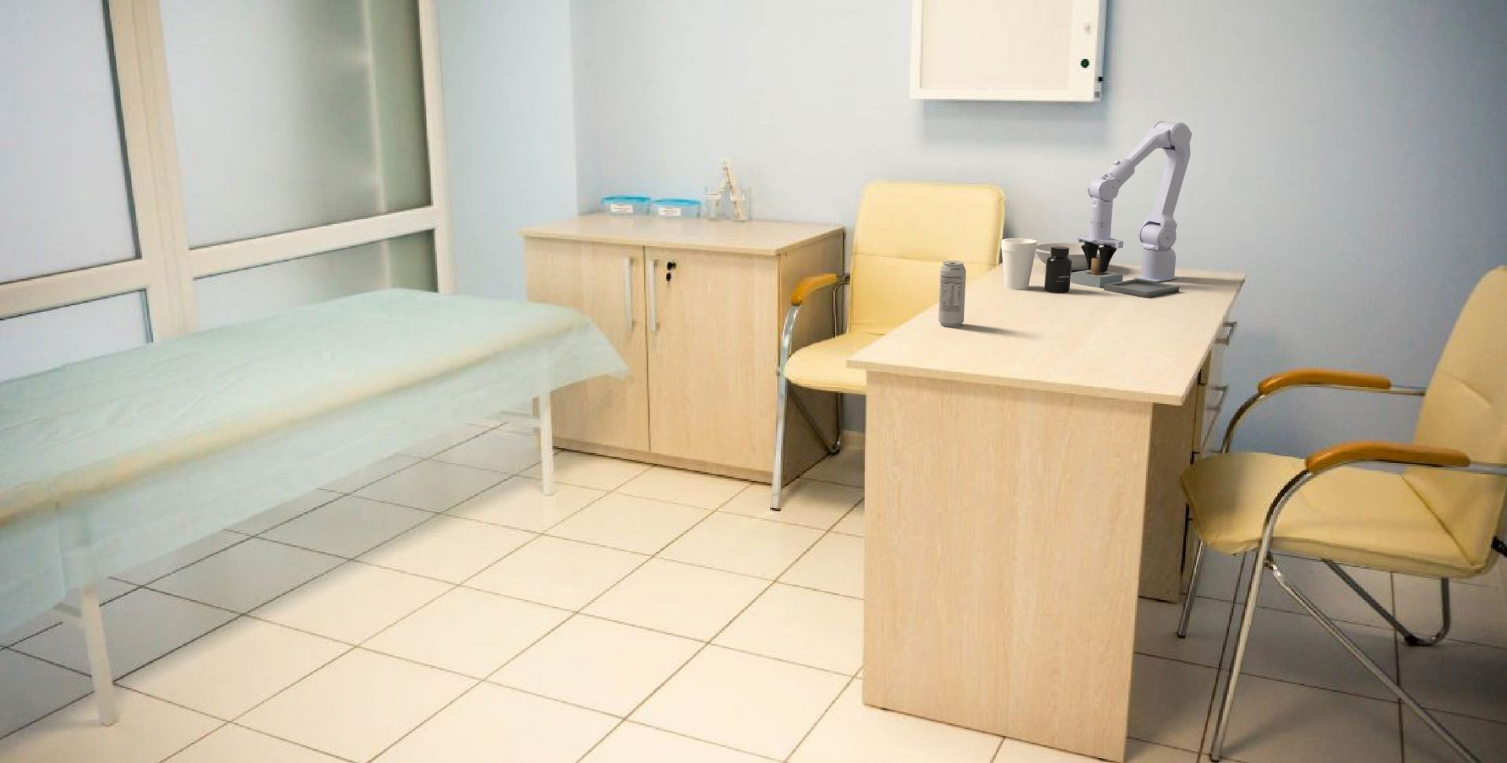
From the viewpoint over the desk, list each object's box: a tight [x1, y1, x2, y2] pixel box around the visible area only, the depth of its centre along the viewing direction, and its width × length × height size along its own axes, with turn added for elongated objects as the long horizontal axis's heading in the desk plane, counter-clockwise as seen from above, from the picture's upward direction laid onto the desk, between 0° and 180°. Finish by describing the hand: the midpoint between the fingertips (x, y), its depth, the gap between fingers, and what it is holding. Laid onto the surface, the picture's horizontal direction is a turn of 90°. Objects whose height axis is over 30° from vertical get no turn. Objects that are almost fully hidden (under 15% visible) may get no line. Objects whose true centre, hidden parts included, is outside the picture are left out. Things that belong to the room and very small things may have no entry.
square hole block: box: [1070, 269, 1124, 289], centre depth 350 cm, size 10×10×3 cm
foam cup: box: [1000, 237, 1038, 291], centre depth 342 cm, size 10×9×13 cm
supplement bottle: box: [1043, 246, 1072, 294], centre depth 337 cm, size 7×7×12 cm
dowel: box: [1091, 257, 1104, 275], centre depth 349 cm, size 4×4×7 cm
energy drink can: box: [938, 260, 967, 328], centre depth 296 cm, size 6×6×15 cm
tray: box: [1103, 278, 1180, 299], centre depth 338 cm, size 14×14×2 cm
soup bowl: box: [1035, 241, 1104, 272], centre depth 371 cm, size 24×24×7 cm
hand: (1097, 270), depth 349 cm, fingers closed on dowel, 4 cm apart
